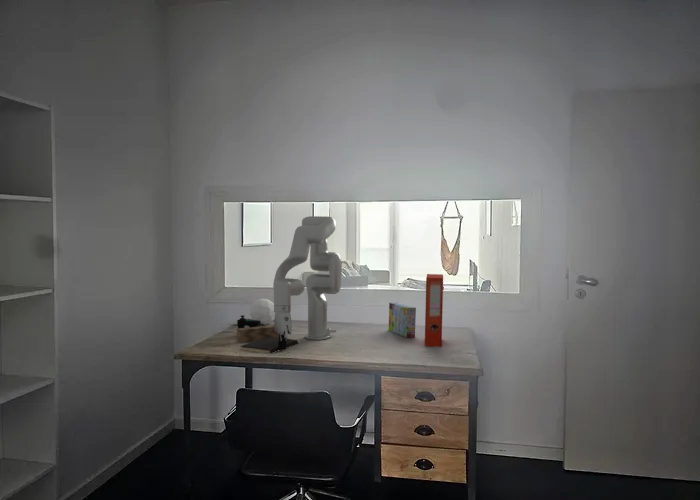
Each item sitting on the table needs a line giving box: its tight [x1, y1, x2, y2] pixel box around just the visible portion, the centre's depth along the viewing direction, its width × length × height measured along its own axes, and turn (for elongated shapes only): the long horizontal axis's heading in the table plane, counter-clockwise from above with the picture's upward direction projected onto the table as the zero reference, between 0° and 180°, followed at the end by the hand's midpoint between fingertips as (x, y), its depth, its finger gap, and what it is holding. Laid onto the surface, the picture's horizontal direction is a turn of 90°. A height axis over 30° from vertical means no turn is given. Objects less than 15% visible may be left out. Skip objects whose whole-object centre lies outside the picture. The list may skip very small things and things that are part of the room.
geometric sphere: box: [249, 298, 275, 326], centre depth 324 cm, size 14×15×15 cm
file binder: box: [424, 273, 444, 348], centre depth 279 cm, size 8×17×32 cm, turn 171°
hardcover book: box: [240, 337, 299, 354], centre depth 269 cm, size 16×23×2 cm
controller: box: [236, 315, 262, 329], centre depth 293 cm, size 4×12×10 cm, turn 76°
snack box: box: [388, 301, 417, 338], centre depth 301 cm, size 21×6×15 cm, turn 22°
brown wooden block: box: [236, 325, 278, 344], centre depth 284 cm, size 24×4×6 cm, turn 118°
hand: (282, 349), depth 261 cm, fingers closed
